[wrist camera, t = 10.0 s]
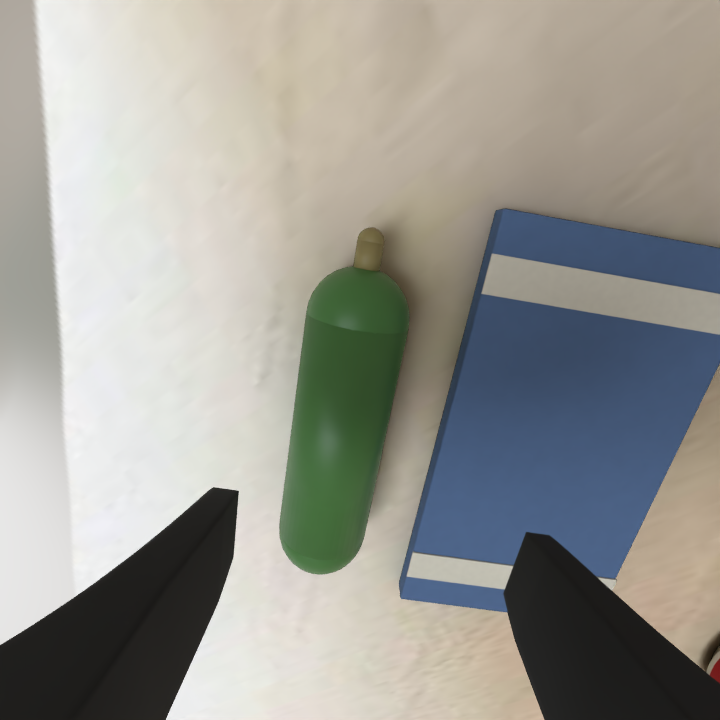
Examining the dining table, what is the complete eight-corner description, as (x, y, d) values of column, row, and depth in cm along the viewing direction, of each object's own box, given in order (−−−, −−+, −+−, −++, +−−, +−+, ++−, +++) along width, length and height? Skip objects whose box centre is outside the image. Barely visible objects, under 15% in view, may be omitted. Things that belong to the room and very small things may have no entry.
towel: (748, 255, 16) (774, 257, 15) (584, 607, 22) (595, 625, 21) (495, 209, 16) (504, 207, 14) (398, 583, 22) (400, 600, 21)
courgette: (353, 530, 21) (362, 597, 17) (278, 526, 20) (270, 595, 16) (412, 236, 16) (442, 238, 12) (318, 219, 15) (318, 215, 12)
